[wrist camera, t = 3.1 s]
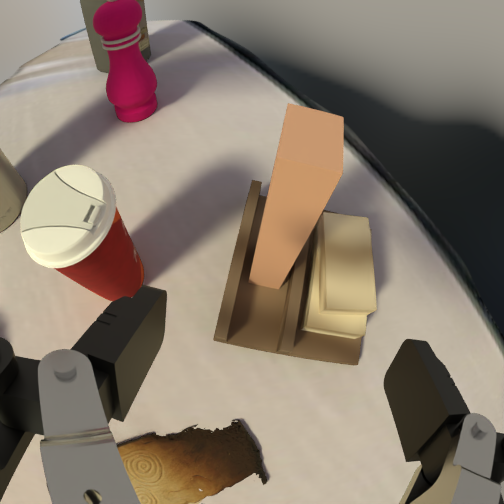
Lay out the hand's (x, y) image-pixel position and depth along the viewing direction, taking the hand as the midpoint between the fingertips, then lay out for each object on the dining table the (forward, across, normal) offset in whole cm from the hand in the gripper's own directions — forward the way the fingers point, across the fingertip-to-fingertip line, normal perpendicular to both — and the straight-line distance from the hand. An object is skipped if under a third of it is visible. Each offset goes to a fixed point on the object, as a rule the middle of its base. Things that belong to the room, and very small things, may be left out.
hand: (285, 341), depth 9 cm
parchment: (+3, +7, +25) cm, 26 cm away
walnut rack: (+21, -4, +7) cm, 22 cm away
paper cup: (+18, +15, +10) cm, 25 cm away
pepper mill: (+35, +23, -7) cm, 42 cm away
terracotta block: (+20, 0, +6) cm, 21 cm away
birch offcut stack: (+20, -7, +6) cm, 22 cm away
